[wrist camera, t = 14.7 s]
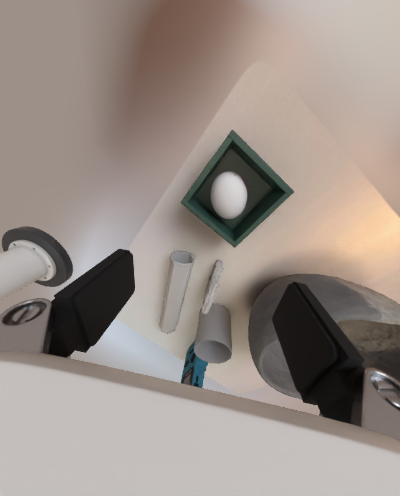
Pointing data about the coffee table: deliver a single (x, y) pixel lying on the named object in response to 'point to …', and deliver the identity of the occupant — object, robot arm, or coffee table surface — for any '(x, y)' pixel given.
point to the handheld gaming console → (193, 369)
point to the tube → (175, 289)
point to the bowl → (343, 313)
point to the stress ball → (228, 195)
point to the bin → (255, 178)
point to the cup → (214, 335)
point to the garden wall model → (212, 287)
